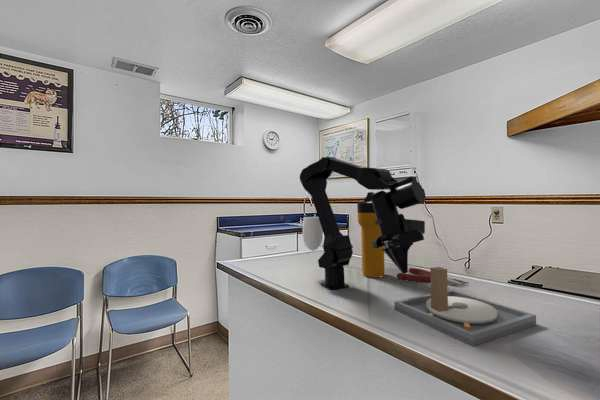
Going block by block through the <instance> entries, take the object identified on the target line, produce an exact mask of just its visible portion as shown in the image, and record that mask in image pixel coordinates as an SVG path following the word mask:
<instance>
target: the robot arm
mask: <svg viewBox="0 0 600 400" xmlns="http://www.w3.org/2000/svg"><path fill="white" fill-rule="evenodd" d="M333 173H336V174H339V175H341V176H344V177H347V178H351V179H352V180H355V181H356V182H357V183H358V185H360V186H362V187H364V188H366V189H367V190H369V191H370V190H374V191H376V190H378V191H377V192H373V191H370V192H367V193H366V196H365V198H364V199H363V203H364V202H372V204H373V208H374V211H375V214H376V218H377V221H375V223H376V225H377V224H379V228H380V231H381V234H382V235H381V236H379V237H378V238H374V239H373V241H372V244H373V248H374V249H375V248H379V247H382V246H384V249H382V251H384V254H385V255H386V256H387V257H388V258H389V259H390V260H391V261H392V262H393V264H394V265H395V266H396V267H397V268H398V269H399V271H400V273H405V274H407V273H409V269H408V268H409V266H408V265H409V263H408V261H409V260H408V259H409V257H408V256H409V251H410V250H409V249H410V248H411V246H413V245H414V243H418V242H420V241H421V242H422V241H425V237H424V234H426V227H425V226H426V225H425V224H426V220H419V219H411V218H410V219H407V218H405V215H404V214H403V213H399V210H398V209H400V210H403V209H407V208H409V207H413V206H417V205H420V204H424V203H425V201H426V191H425V189H424V188H423V187H422V185H421V183H420V182H418V179H417V177H416V176H409V177H406V178H405V179H404V180H401V181H398V180H397V179H395V178H394V177H393V176H392V174H391V171H389V170H388V169H386V168H378V167H367V166H364V167H363V166H361V165H358V164H355V163H352V162H348V161H345V160H341V159H338V158H336V157H334V156H333V157H332V156H326V155H325V156H323V157H321V158H320V159H319V160H317V161H316V162H313V163H311V164H309V165H307V166H306V167H304V168H303V169H302V170H301V172H300V174H299V181H300V184H301V185H302V187H303V189H304V190H305V192H307V193H308V195H310V197H311V199H312V203H313V205H314V208H315V211H316V215H317V217H318V218H319V221H320V224H321V227H322V230H323V236H324V237H323V238H324V240H323V243H322V249H323V253H322V255H321V256H320V257H319V259H318V260H317V263H318V266H319V268H321V269H324V282H321V283H320V285H321V286H322V287H325V288H327V289H328V290H330V291H331V290H332V291H333V290H338V289H345V288H349V284H347V283H345V267H344V266H349V264H350V261H351V259H352V257H353V253H354V252H353V251H354V250H353V248H354V246H353V244H352V243H351V238H350V236H349V234H346V235H344V234H343V233H342V232H341V231H340V228H339V226H338V223H337V220H336V217H335V214H334V212H333V209H332V206H331V203H330V200H329V197H328V194H327V191H326V189H327V186H328V181H327V179H328V178H330V177H331V175H332V174H333ZM385 190H389V191H387V192H386V191H385Z"/></svg>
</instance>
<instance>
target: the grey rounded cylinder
mask: <svg viewBox="0 0 600 400" xmlns="http://www.w3.org/2000/svg"><path fill="white" fill-rule="evenodd" d="M323 236H324V233H323V230H322V227H321V224H320V221H319V218H318V216H304V217H303V220H302V238H303V242H304V245H305V247H306V248H307V249H308V250H310V251H315V250H316V251H317V250H318V248H319V247H321V244H322V242H323Z"/></svg>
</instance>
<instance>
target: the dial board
mask: <svg viewBox="0 0 600 400" xmlns="http://www.w3.org/2000/svg"><path fill="white" fill-rule="evenodd" d="M448 296H454V297H463V298H469V299H473V300H477V301H481V302H483V303H486V304H488V305H490V306H492V307H494V308H495V309H496V310H497V319H496V320H495V321H493V322H491V323H485V324H469V323H465V322H464V323H460V322H454V321H450V320H446V319H443V318H440V317H438V316H436V315H434V314H432V313H430V312H429V311H428V310H427V308H426V302H427V300H428V299H430V298H431V293H428V294H424V295H420V296H419V295H417V296H415V297H408V298H404V299H399V300H395V301H393V303H394V308H393V309H394V311H396V312H398V313H400V314H403V315H404V316H406V317H409V318H411V319H414V320H416V321H418V322H420V323H421V324H424V325H426V326H429V327H431V328H433V329H435V330H437V331H438V332H442V333H443V334H446V335H448V336H450V337H452V338H454V339H457V340H458V341H460V342H463V343H465V344H467V345H469V346H471V347H474V346H475V347H476V346H479V345H481V344H483V343H487V342H489V341H492V340H496V339H499V338H502V337H505V336H507V335H510V334H513V333H515V332H519V331H521V330H525V329H528V328H531V327H533V326H536V325H537V315H536V314H533V313H530V312H527V311H524V310H521V309H518V308H514V307H510V306H508V305H506V304H505V305H504V304H501V303H498V302H494V301H491V300H489V299H484V298H481V297H477V296H475V295H471V294H468V293H465V292H461V291H458V290H454V289H448Z"/></svg>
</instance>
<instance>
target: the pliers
mask: <svg viewBox="0 0 600 400" xmlns="http://www.w3.org/2000/svg"><path fill="white" fill-rule="evenodd" d="M409 272H410V273H415V274H410V273H409ZM408 273H409V274H407V273H402V272H398V273H397V274H396V278H398V279H397V280H399V279H403V280H402V281H404V280H408V281H407V282H411V281H415V282H414V283H430V284H431V281H430V271H429V270H425V269H422V268H414V267H411V268H409V269H408ZM416 274H419V275H416ZM447 285H451V286H458V287H459V286H460V287H466V286H467V285H470V283H469V282H468V281H464V280H460V279H456V278H453V277H448V276H447Z"/></svg>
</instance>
